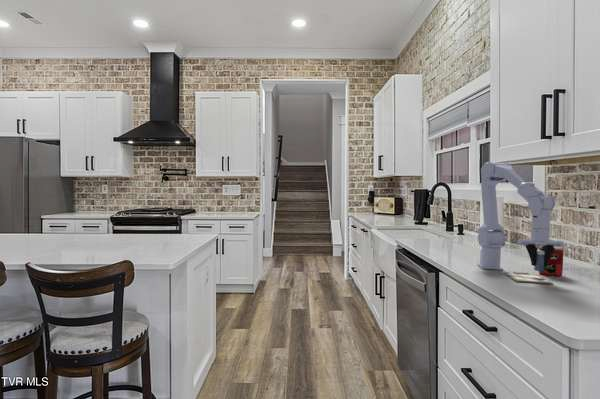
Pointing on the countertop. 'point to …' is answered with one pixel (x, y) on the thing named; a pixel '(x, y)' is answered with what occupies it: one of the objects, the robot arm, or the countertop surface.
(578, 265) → the countertop surface
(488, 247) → the robot arm
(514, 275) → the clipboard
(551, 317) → the countertop surface
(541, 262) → the blue-grey cylinder
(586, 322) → the countertop surface
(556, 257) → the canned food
